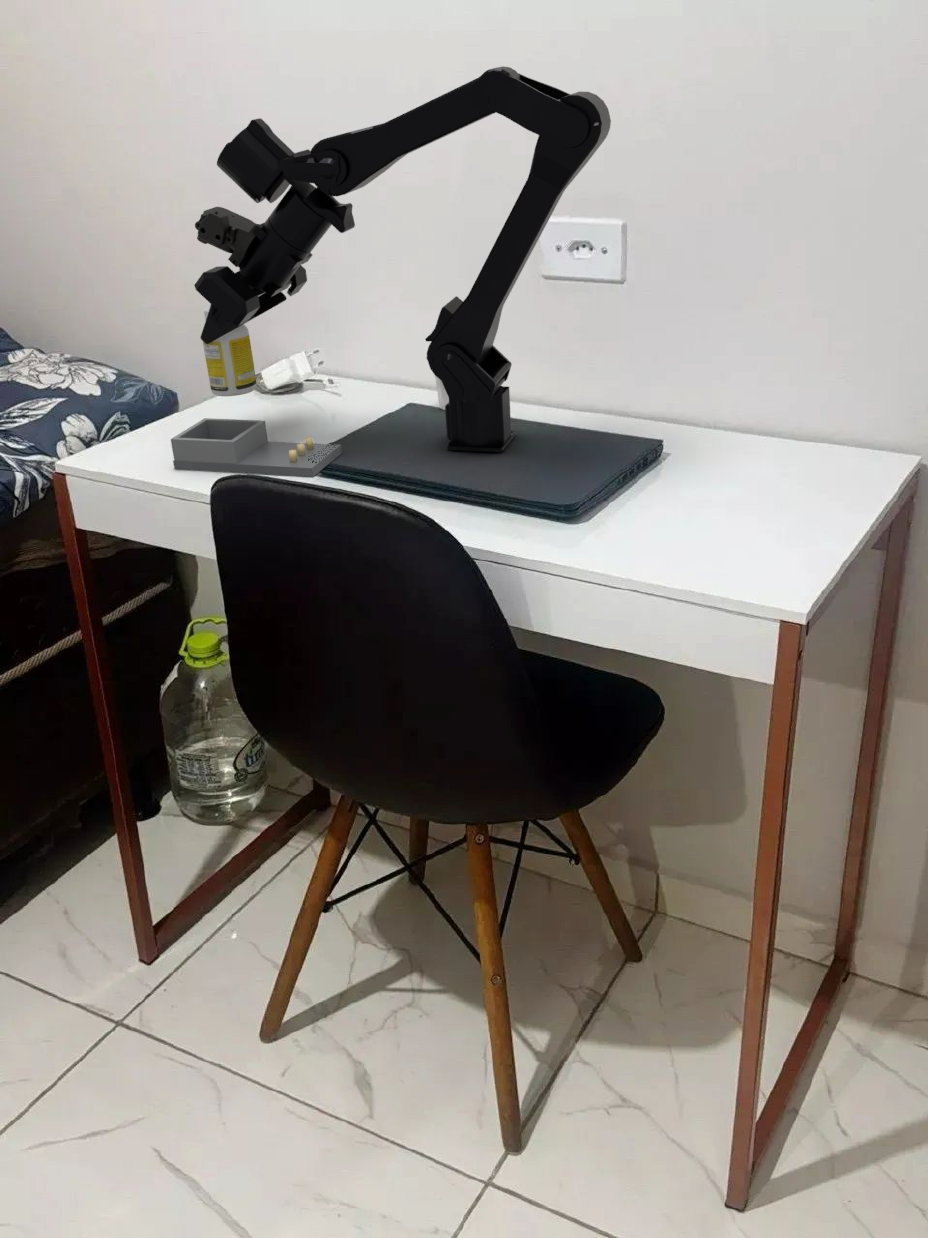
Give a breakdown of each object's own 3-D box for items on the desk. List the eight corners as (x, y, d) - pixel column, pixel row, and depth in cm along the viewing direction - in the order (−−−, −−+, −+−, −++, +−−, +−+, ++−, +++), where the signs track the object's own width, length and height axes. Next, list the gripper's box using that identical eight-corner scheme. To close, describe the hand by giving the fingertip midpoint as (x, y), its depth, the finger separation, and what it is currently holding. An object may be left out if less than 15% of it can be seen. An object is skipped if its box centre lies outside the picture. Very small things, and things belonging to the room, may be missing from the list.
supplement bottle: (259, 383, 142) (247, 300, 138) (255, 395, 137) (243, 310, 133) (213, 386, 142) (200, 304, 137) (208, 399, 137) (194, 314, 132)
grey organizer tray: (341, 453, 134) (338, 423, 133) (313, 476, 127) (309, 445, 126) (208, 446, 139) (204, 417, 138) (174, 469, 132) (169, 439, 131)
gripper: (268, 170, 136) (197, 270, 144) (197, 191, 120) (121, 303, 128) (340, 239, 138) (266, 334, 145) (279, 269, 121) (199, 375, 129)
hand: (214, 335), depth 137 cm, fingers closed on supplement bottle, 5 cm apart
